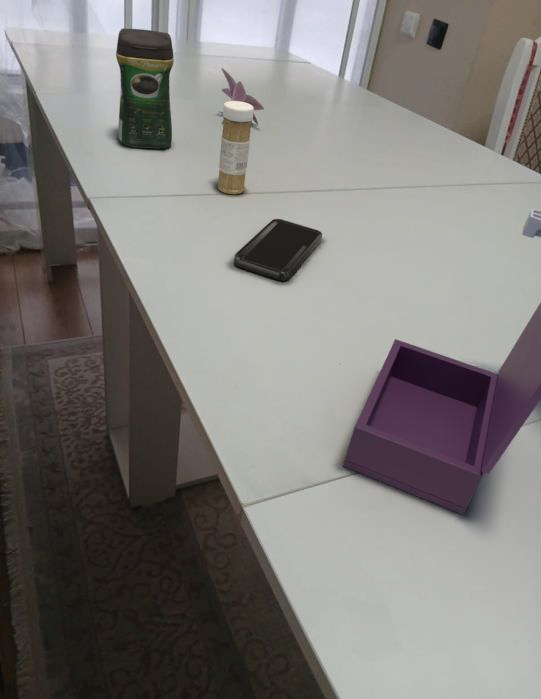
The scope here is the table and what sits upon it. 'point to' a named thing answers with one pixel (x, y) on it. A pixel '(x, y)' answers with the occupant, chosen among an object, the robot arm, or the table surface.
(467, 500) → the box
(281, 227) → the phone
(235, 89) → the lily
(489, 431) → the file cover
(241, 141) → the sprinkles bottle
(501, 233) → the table surface
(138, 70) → the coffee jar
